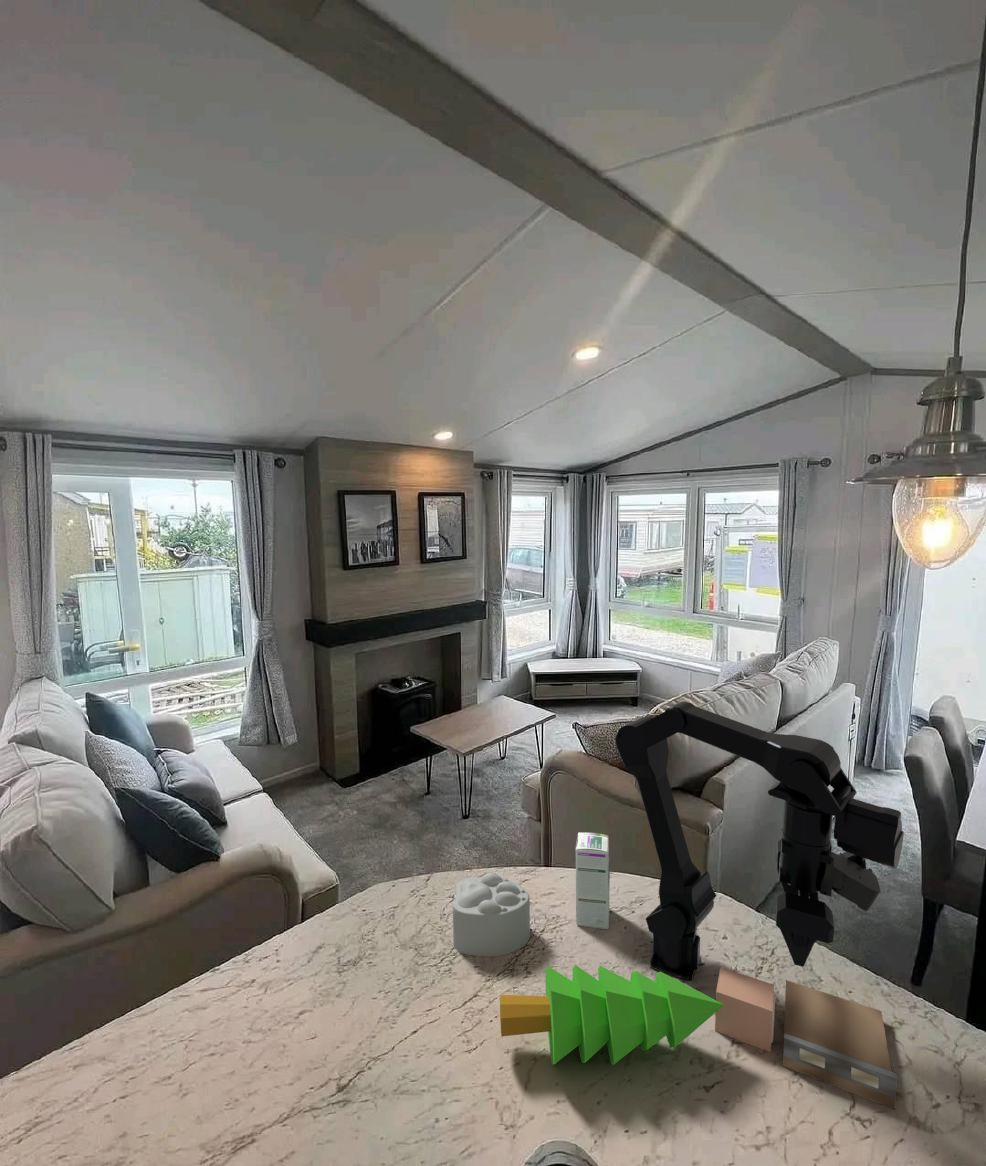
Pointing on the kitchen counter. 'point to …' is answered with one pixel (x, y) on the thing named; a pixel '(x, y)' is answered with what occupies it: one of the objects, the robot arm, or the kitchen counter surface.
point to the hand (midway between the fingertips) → (797, 941)
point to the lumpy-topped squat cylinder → (490, 916)
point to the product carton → (745, 1009)
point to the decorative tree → (607, 1012)
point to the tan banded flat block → (838, 1043)
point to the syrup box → (592, 880)
